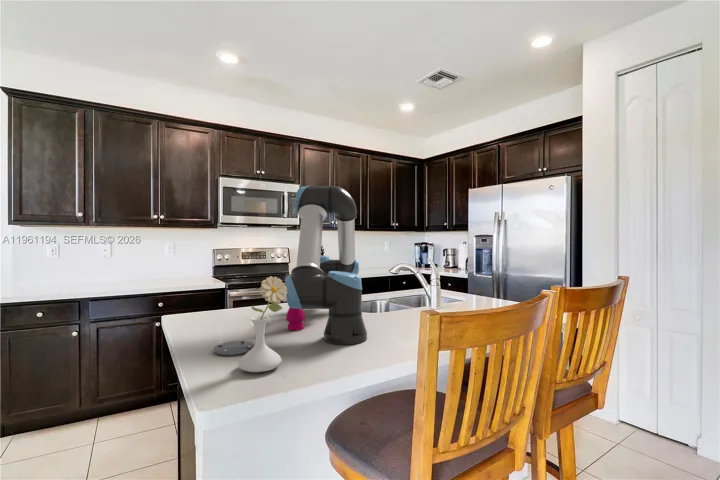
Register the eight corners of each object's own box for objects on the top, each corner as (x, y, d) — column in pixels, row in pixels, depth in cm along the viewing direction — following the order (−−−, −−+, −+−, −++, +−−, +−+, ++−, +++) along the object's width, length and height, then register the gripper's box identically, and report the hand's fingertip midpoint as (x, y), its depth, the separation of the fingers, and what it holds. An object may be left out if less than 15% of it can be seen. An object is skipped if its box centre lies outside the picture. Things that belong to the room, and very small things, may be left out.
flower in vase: (240, 379, 89) (239, 280, 89) (236, 364, 100) (235, 275, 99) (291, 371, 94) (291, 277, 94) (283, 358, 105) (282, 273, 105)
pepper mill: (290, 326, 142) (289, 276, 143) (307, 326, 141) (306, 276, 142) (283, 330, 135) (282, 278, 136) (301, 331, 134) (301, 278, 134)
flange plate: (260, 345, 117) (260, 340, 117) (242, 357, 106) (242, 352, 106) (227, 343, 119) (227, 338, 119) (205, 355, 108) (205, 349, 108)
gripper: (341, 299, 162) (329, 308, 141) (290, 298, 166) (270, 307, 146) (341, 283, 162) (329, 290, 141) (289, 282, 166) (270, 288, 145)
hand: (299, 298), depth 143 cm, fingers open, 13 cm apart
